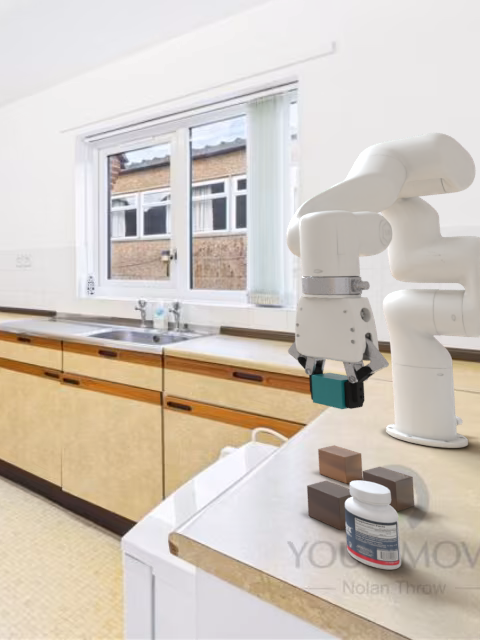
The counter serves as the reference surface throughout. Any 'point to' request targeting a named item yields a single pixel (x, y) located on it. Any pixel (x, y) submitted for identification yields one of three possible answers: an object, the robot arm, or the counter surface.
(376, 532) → the pill bottle
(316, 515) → the brown cube
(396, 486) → the taupe block
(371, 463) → the counter surface
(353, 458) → the caramel wooden cube
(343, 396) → the teal toy cube
